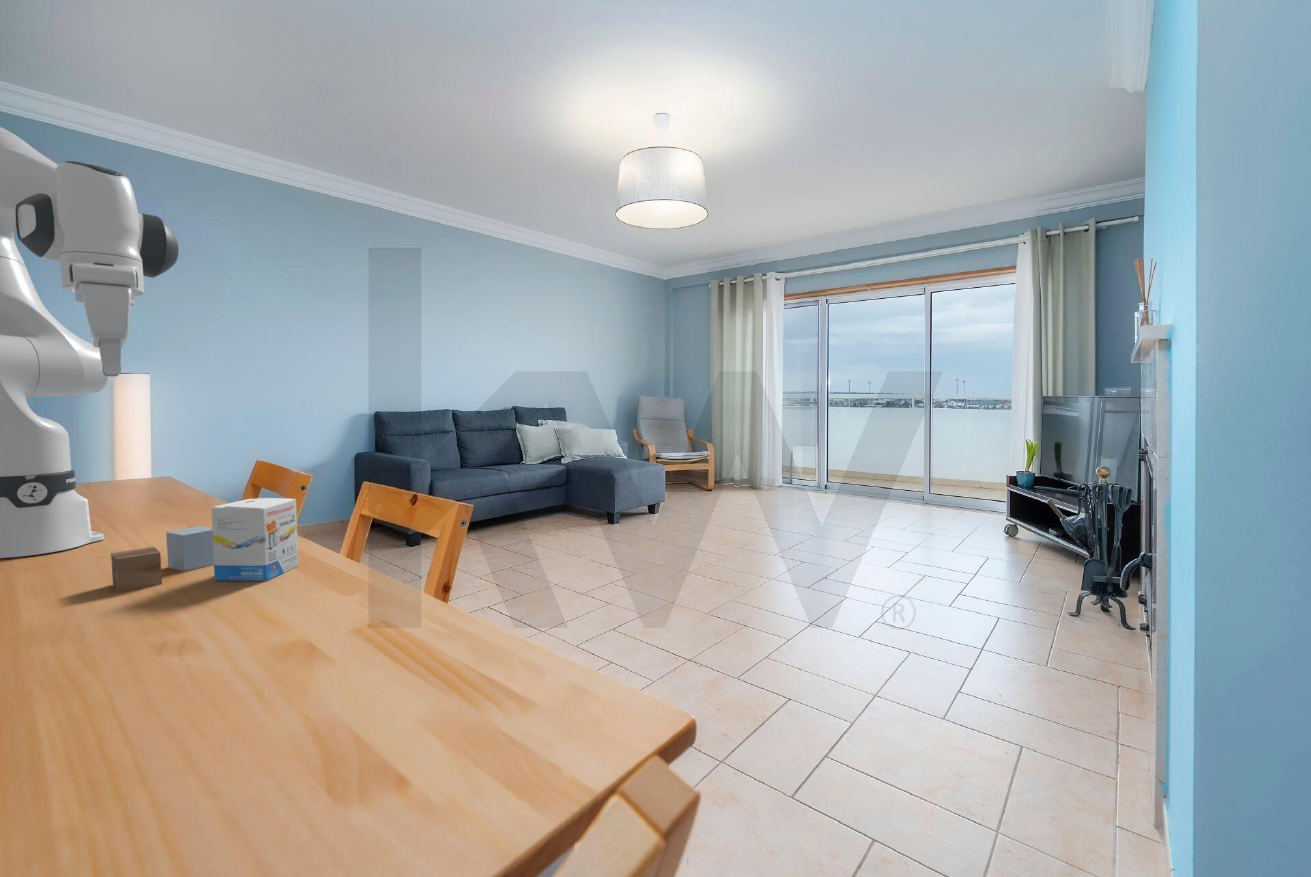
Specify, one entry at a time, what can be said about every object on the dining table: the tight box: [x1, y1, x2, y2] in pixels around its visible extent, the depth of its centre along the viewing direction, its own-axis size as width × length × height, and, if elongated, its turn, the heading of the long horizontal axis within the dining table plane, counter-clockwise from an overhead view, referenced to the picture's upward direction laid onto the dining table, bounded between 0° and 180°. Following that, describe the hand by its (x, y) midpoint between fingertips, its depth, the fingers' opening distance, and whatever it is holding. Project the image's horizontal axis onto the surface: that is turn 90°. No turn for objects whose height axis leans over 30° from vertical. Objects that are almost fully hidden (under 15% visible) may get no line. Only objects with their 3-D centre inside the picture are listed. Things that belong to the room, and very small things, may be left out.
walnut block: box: [110, 546, 163, 593], centre depth 90 cm, size 5×5×5 cm
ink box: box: [211, 497, 300, 582], centre depth 96 cm, size 9×8×12 cm
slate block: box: [166, 525, 214, 572], centre depth 100 cm, size 5×5×6 cm
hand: (111, 375), depth 87 cm, fingers open, 8 cm apart
